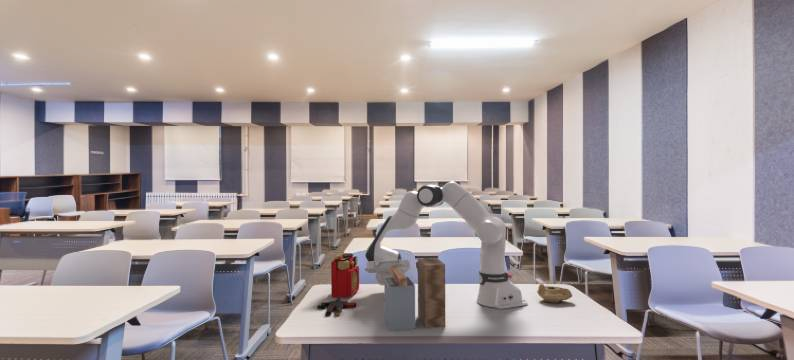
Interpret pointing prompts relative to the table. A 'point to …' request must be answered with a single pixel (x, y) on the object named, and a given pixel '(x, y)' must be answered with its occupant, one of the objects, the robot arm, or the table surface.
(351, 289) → the radio
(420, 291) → the post
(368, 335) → the table surface
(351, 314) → the table surface
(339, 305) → the toy
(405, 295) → the dock
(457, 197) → the robot arm
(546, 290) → the oil lamp
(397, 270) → the bar
